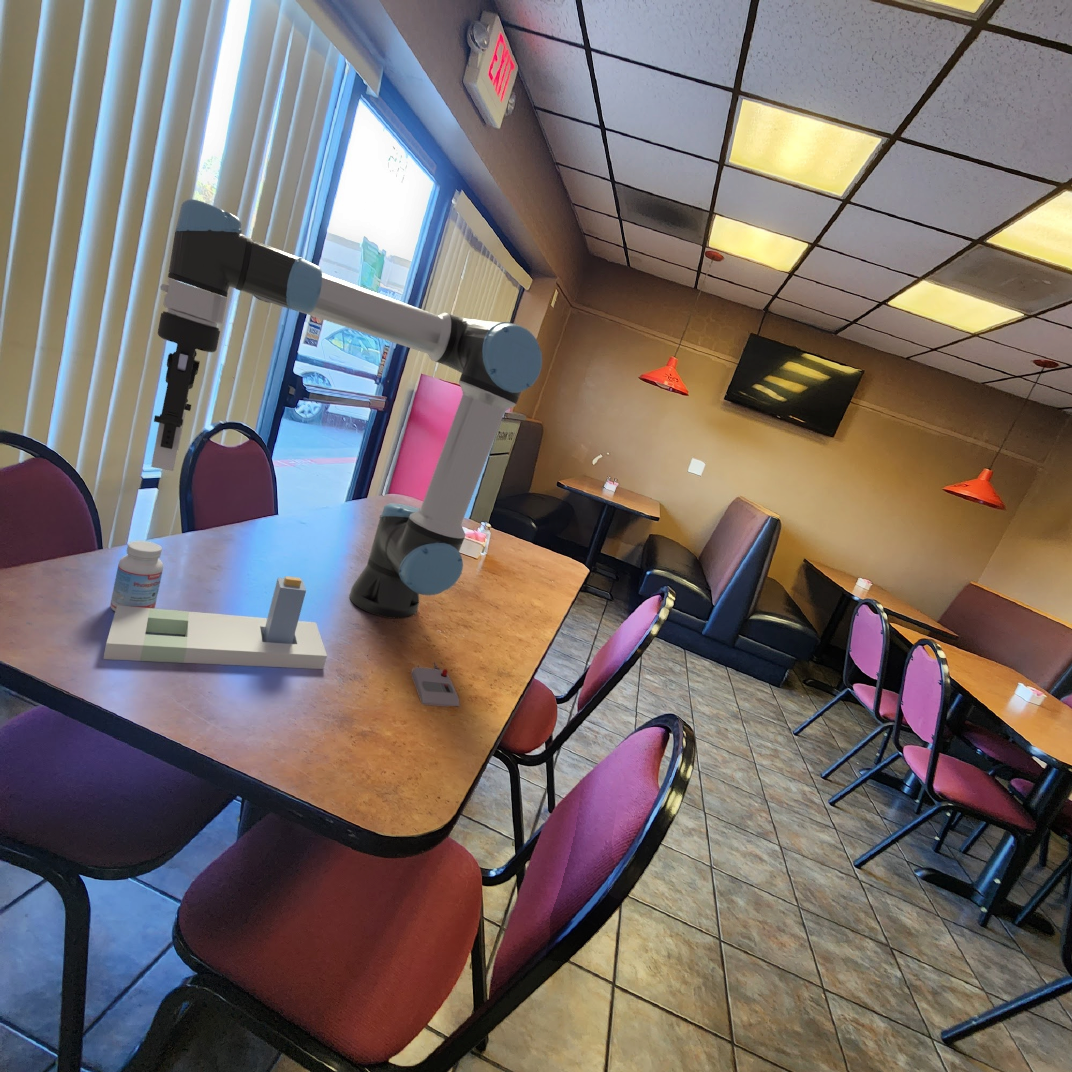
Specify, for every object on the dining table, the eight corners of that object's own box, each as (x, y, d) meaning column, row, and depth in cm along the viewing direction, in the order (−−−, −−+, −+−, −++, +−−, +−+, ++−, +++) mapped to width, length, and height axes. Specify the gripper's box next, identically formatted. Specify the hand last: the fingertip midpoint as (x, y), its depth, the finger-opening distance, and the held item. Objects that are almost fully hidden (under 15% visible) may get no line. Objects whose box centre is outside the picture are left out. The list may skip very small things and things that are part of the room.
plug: (286, 643, 101) (304, 575, 99) (288, 655, 98) (307, 585, 95) (261, 641, 99) (279, 572, 96) (263, 653, 96) (281, 581, 93)
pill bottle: (132, 621, 92) (145, 556, 90) (100, 607, 93) (112, 542, 91) (163, 610, 98) (176, 549, 96) (132, 597, 99) (144, 536, 97)
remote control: (423, 713, 96) (428, 697, 95) (405, 664, 109) (410, 650, 109) (460, 716, 99) (466, 701, 98) (439, 668, 112) (443, 654, 112)
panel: (312, 634, 107) (315, 622, 107) (323, 669, 97) (327, 655, 97) (114, 619, 91) (117, 605, 91) (103, 659, 81) (106, 643, 81)
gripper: (167, 307, 93) (144, 435, 98) (154, 310, 73) (125, 472, 77) (220, 324, 97) (195, 446, 102) (221, 331, 77) (191, 484, 81)
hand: (165, 457), depth 89 cm, fingers open, 13 cm apart
